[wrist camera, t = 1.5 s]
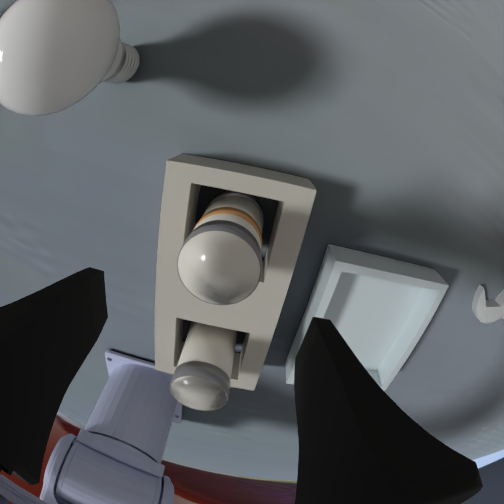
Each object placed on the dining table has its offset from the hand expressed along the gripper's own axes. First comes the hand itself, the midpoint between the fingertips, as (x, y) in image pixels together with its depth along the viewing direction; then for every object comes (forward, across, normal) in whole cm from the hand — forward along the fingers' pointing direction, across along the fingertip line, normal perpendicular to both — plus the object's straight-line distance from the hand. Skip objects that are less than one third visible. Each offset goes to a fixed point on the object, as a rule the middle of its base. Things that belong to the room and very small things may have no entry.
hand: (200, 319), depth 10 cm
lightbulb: (+11, +9, -9) cm, 17 cm away
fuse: (+10, 0, +9) cm, 14 cm away
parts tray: (+10, -11, +6) cm, 16 cm away
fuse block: (+10, 0, +5) cm, 11 cm away
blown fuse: (+11, 0, 0) cm, 11 cm away
